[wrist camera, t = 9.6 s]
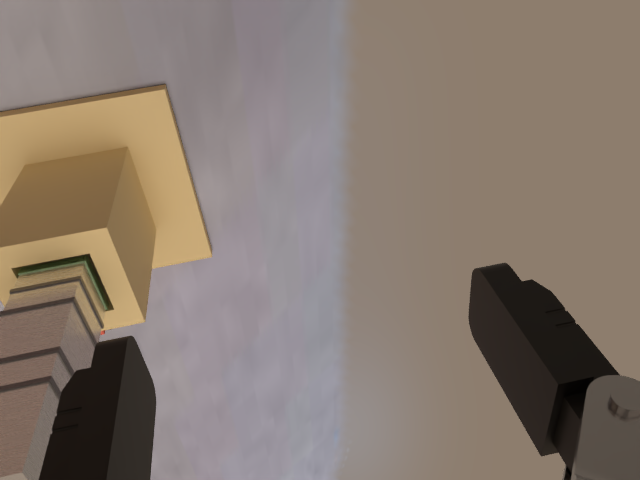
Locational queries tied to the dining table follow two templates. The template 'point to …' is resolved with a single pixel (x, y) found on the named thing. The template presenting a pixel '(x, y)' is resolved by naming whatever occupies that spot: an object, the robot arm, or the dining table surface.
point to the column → (44, 353)
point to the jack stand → (99, 193)
